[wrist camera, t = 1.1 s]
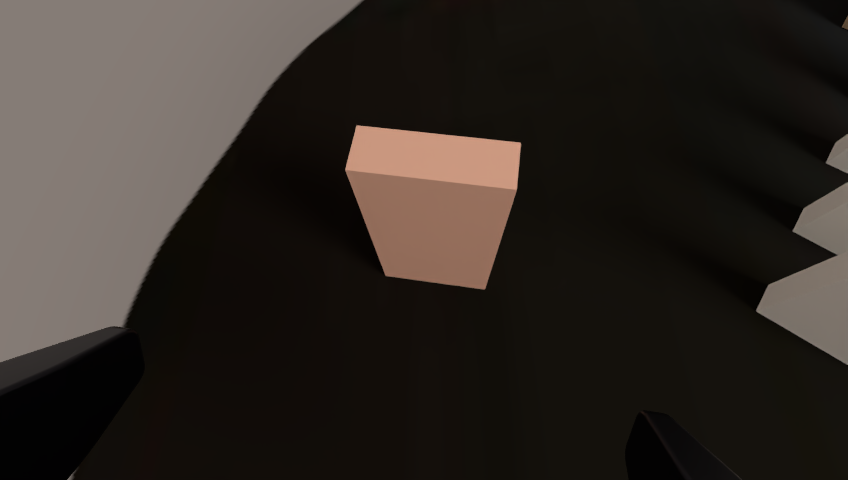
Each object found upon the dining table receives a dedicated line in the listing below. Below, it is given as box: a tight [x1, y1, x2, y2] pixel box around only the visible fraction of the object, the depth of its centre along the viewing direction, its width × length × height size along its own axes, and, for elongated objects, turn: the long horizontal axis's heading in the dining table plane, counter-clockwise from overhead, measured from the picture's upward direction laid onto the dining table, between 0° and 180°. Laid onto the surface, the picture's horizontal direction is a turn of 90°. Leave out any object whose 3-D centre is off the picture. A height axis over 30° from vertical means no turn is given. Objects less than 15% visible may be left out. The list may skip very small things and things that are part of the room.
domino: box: [345, 126, 521, 289], centre depth 18 cm, size 2×5×10 cm, turn 81°
